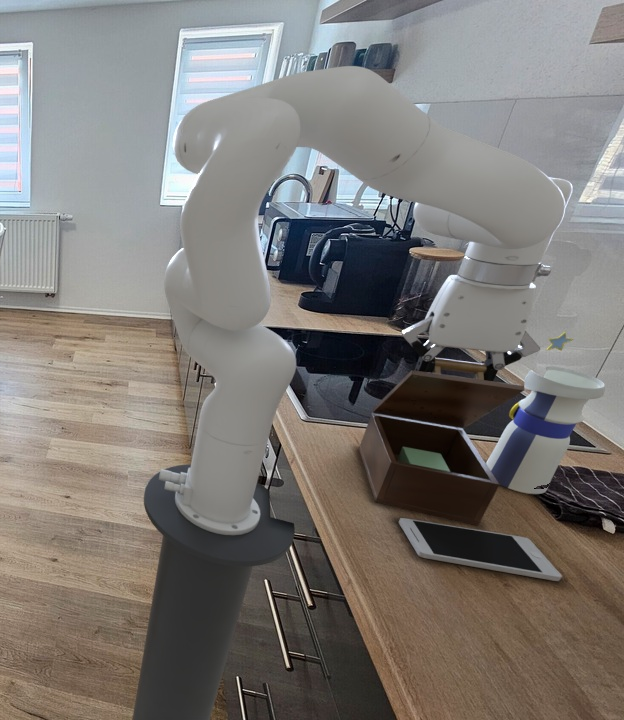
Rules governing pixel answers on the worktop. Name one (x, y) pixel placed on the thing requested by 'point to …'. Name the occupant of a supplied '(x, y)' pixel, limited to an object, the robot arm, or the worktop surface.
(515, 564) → the smartphone
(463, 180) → the robot arm
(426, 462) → the block
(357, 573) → the worktop surface
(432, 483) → the chest
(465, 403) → the chest lid
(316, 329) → the worktop surface
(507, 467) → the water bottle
